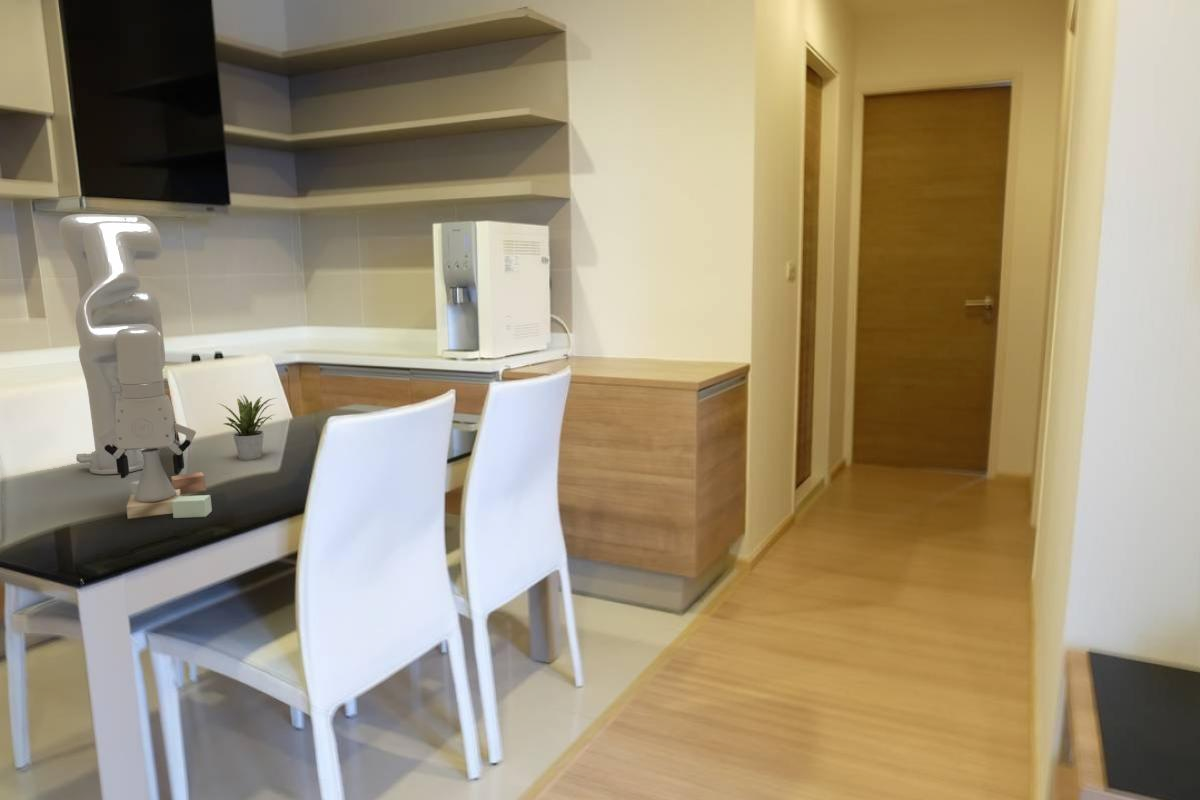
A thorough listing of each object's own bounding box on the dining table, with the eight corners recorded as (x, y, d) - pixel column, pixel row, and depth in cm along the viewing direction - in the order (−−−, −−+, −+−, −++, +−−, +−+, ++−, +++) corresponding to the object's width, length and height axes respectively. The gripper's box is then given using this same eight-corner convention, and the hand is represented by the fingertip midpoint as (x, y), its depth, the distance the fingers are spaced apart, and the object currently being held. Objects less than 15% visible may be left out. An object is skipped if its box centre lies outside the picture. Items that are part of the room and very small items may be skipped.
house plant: (297, 453, 207) (293, 391, 204) (255, 466, 194) (249, 400, 191) (256, 448, 212) (251, 387, 209) (212, 460, 200) (206, 396, 197)
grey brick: (132, 499, 170) (130, 483, 169) (146, 494, 173) (144, 478, 172) (154, 501, 168) (152, 485, 167) (168, 496, 171) (166, 481, 170)
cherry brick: (175, 495, 172) (173, 480, 171) (172, 492, 175) (171, 476, 174) (205, 490, 175) (204, 475, 175) (202, 487, 178) (201, 471, 177)
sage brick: (173, 518, 157) (171, 501, 156) (180, 513, 160) (178, 496, 160) (205, 517, 158) (204, 500, 157) (211, 511, 161) (210, 495, 161)
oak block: (128, 521, 157) (126, 507, 156) (132, 508, 165) (130, 494, 164) (179, 515, 161) (178, 501, 160) (181, 502, 169) (179, 489, 168)
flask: (155, 504, 158) (150, 455, 156) (126, 501, 160) (121, 452, 158) (184, 494, 165) (179, 446, 163) (156, 491, 167) (151, 444, 165)
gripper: (86, 396, 152) (97, 483, 156) (187, 391, 157) (195, 476, 160) (99, 389, 159) (109, 472, 163) (194, 385, 164) (202, 466, 167)
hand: (151, 474), depth 161 cm, fingers open, 9 cm apart
